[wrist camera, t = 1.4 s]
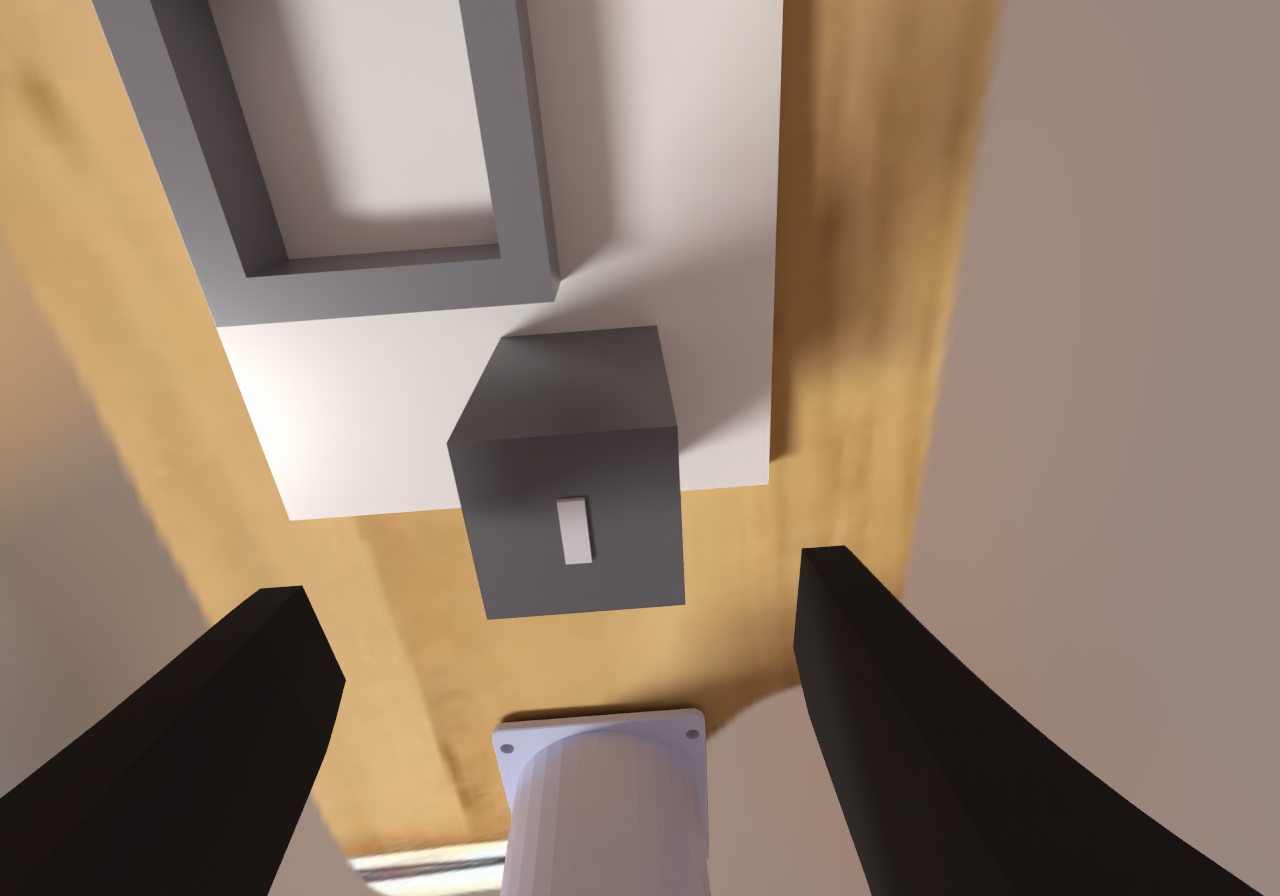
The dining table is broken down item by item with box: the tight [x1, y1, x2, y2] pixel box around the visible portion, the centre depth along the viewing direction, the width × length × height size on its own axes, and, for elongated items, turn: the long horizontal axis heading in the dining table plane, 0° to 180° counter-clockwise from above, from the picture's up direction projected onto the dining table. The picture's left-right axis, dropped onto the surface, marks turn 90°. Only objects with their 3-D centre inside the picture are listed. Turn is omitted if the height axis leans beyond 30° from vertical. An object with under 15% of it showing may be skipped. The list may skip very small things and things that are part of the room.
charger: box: [446, 325, 685, 620], centre depth 15 cm, size 4×4×6 cm
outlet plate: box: [91, 0, 783, 521], centre depth 15 cm, size 14×14×3 cm
